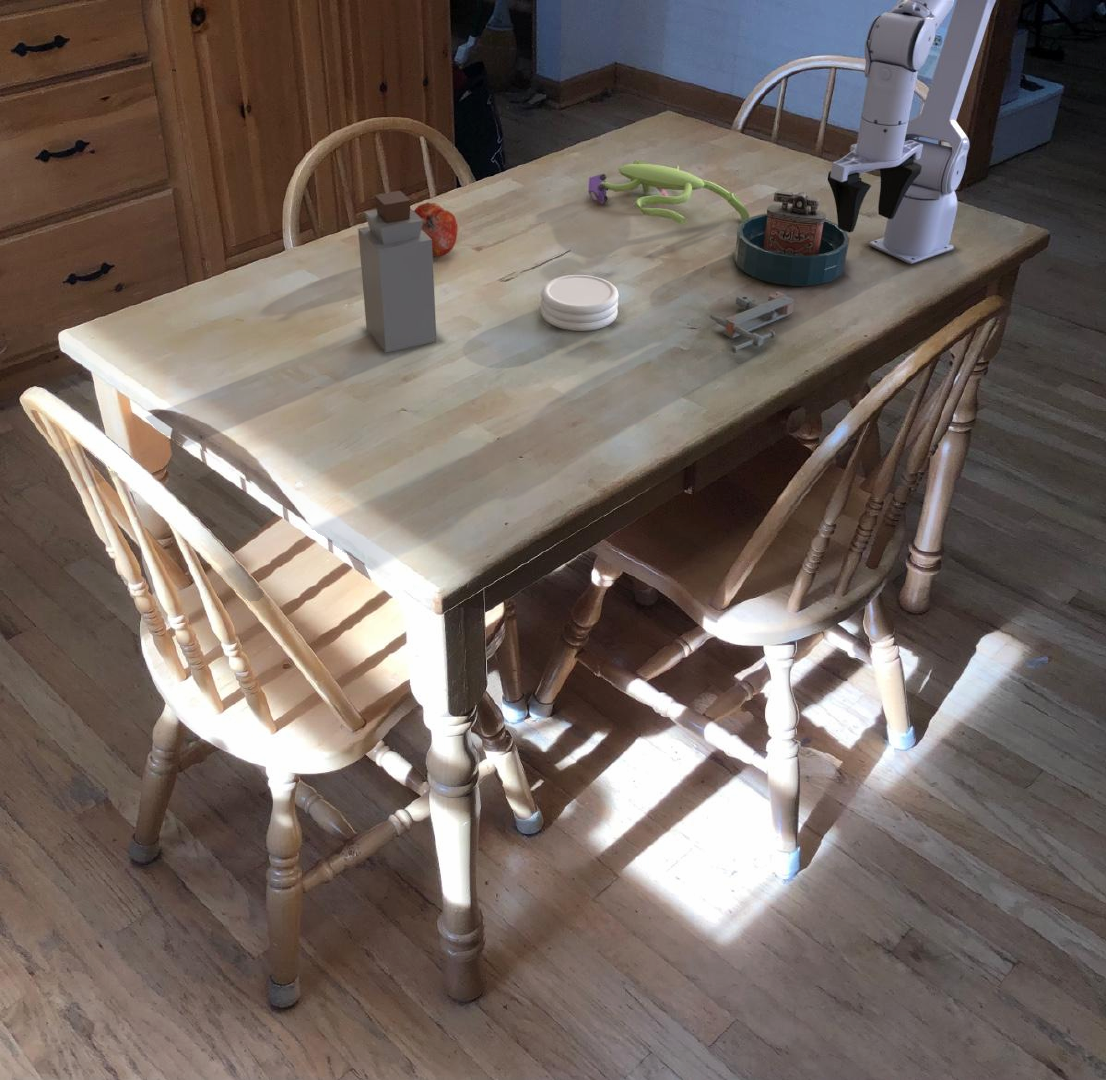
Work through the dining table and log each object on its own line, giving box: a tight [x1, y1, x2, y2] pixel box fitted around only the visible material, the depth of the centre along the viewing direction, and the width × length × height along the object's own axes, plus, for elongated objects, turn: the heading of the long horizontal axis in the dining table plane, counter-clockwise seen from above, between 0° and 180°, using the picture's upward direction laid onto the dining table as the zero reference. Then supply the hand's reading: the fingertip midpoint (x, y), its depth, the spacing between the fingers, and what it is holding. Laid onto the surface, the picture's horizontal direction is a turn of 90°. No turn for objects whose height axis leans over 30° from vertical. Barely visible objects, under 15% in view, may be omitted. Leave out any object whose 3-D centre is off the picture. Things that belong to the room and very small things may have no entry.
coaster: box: [540, 274, 620, 332], centre depth 158 cm, size 10×10×4 cm
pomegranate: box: [413, 202, 459, 257], centre depth 172 cm, size 7×7×10 cm
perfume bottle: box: [357, 190, 438, 353], centre depth 148 cm, size 7×7×18 cm
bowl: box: [734, 213, 850, 287], centre depth 171 cm, size 15×15×4 cm
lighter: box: [763, 190, 827, 255], centre depth 169 cm, size 8×3×10 cm, turn 71°
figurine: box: [587, 159, 750, 226], centre depth 186 cm, size 18×27×6 cm
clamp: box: [709, 291, 795, 354], centre depth 156 cm, size 15×2×10 cm
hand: (865, 223), depth 159 cm, fingers open, 7 cm apart
